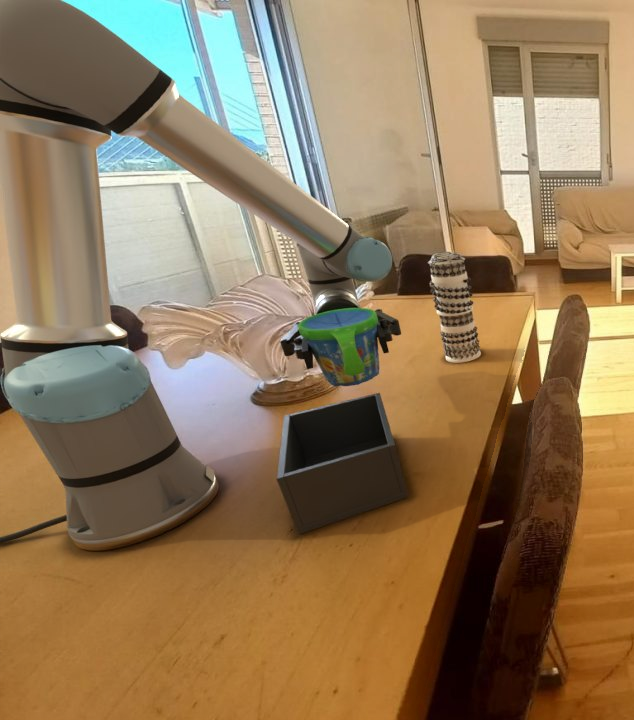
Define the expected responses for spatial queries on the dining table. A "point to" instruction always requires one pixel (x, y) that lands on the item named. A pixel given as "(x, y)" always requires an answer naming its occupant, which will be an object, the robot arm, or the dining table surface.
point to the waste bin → (338, 462)
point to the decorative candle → (454, 307)
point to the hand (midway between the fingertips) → (347, 352)
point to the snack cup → (344, 344)
